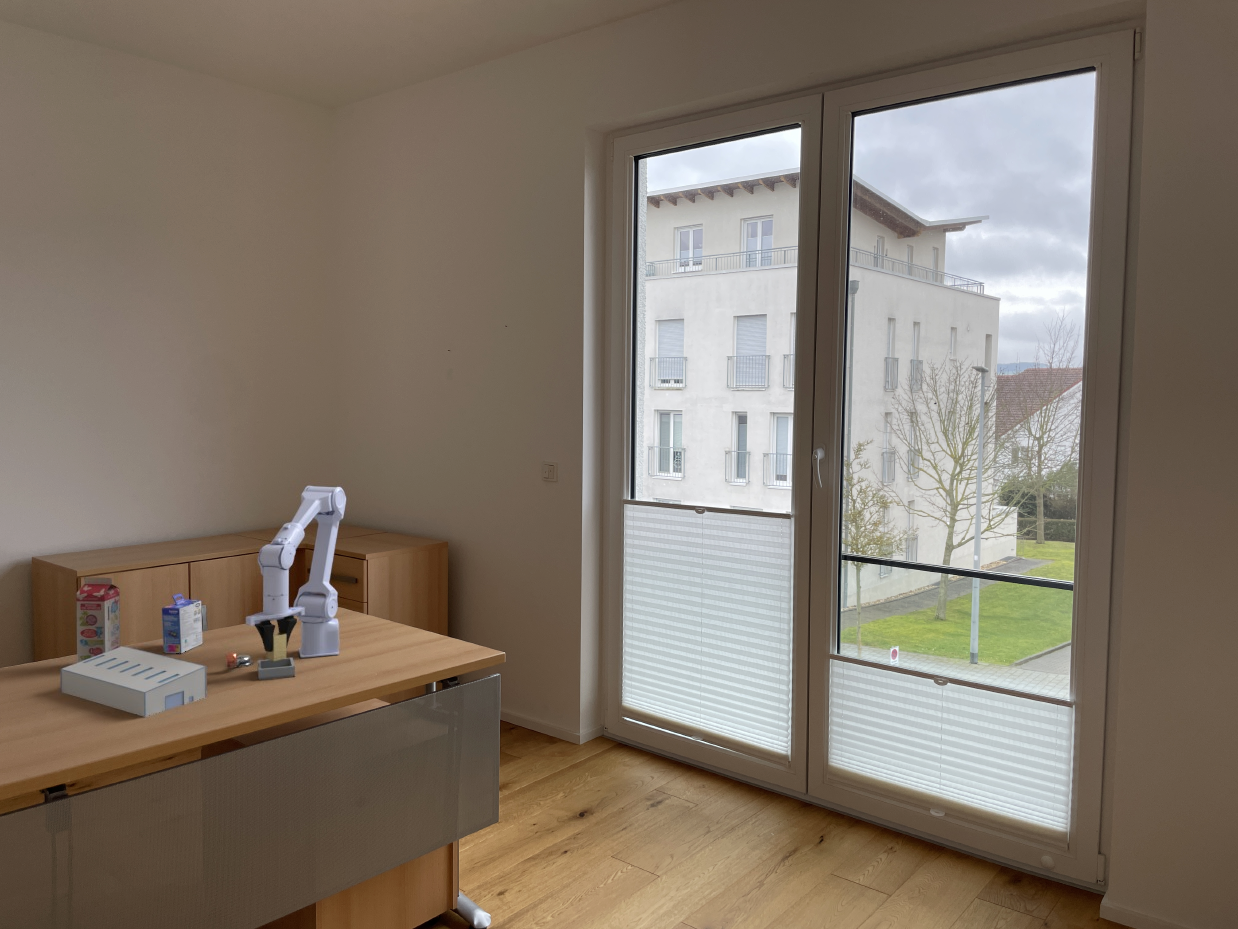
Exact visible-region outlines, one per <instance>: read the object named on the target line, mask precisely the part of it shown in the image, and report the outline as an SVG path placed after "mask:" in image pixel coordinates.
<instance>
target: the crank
mask: <svg viewBox="0 0 1238 929" xmlns="http://www.w3.org/2000/svg"><path fill="white" fill-rule="evenodd" d="M250 660H251V655H249V654H239V655H238V653H237V652H235V651H233V652H226V654H225V666H226V668H229V669H230V668H236V667H235V666H237V665H238V664H239V663H246V662H249V661H250Z"/></svg>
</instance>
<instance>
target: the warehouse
mask: <svg viewBox="0 0 1238 929" xmlns="http://www.w3.org/2000/svg"><path fill="white" fill-rule="evenodd" d="M59 672H60V693H64V694H66V695H70V696H74V697H77V698H80V699H83V700H86V701H90V702H92V703H93V702H94V703H98V704H100V705H103V706H107V707H110V708H114V709H116V710H117V709H118V710H120V711H124V712H127V713H130V714H133V715H136V714H137V716H140V717H143V718H147V717H150V716H154V715H156V714H155V713H157V714H159V712H160V713H163V712H165V710H166V711H168V710H172V709H174V708H173V707H175V708H178V707H180V706H179V705H181V706H184V704H185V705H188V704H191V703H193V702H192V701H194V702H197V700H198V701H200V700H199V699H201V700H203V699H202V698H204V699H206V698H205V697H207V694H208V693H207V666H206V665H203V664H200V663H195V662H190V661H187V660H183V659H178V658H175V657H171V656H166V655H162V654H159V653H153V652H150V651H145V650H141V649H137V648H134V647H130V646H125V645H122V646H121V645H120V647H118V648H116V649H113V650H110V651H108V652H105V653H102V654H100V655H97V656H94V657H92V658H89V659H86V660H84V661H81V662H78V663H77V662H75V663H73V664H70V665H68V666H65V667H63V668H60V671H59ZM207 698H208V697H207ZM190 702H191V703H190ZM187 703H188V704H187ZM177 706H178V707H177ZM167 709H168V710H167ZM162 711H163V712H162ZM153 714H154V715H153ZM149 715H150V716H149Z"/></svg>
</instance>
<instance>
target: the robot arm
mask: <svg viewBox="0 0 1238 929" xmlns="http://www.w3.org/2000/svg"><path fill="white" fill-rule="evenodd" d="M300 503H301V504H300V506H299V508H298V509H297V511H296V513H295V515H294V517H293V518H292V520H291V521H290V522H285V523H284V524H283V525H282V527H281V528H280V529H279V531H278V532H277V533H276V535H275V536H274V538H273V539H272V541H271V542H270V544H265V545H264V546H262V547H261V548H260V550H259V552H258V557H257V563H258V565H259V568H260V574H261V576H263V578H262V583H263V584H262V586H263V588H262V589H263V590H262V597H263V598H262V599H263V602H262V606H263V608H262V612H261V611H260V612H257V613H254V614H251V615H248V616H246V617H245V625H246V626H249V627H252V626H254V627H255V628H256V630H257V632H258V633H259V636H260V638H261V642H262V644H263V649H264V651H265V652H266V651H268V652H272V649H273V634H274V632H275V628H276V624H272V622H273V621H276V623H277V626H278V627H277V630H278V632H282V633H285V634H286V649H288V644H289V641H290V639H291V638H290V637H291V634H292V632H293V630H294V628H295V626H296V624H297V623H298V621H300V622H301V624H300V626H301V627H300V632H301V633H300V635H301V638H300V639H301V640H300V642H301V643H300V645H301V646H300V647H299V648H298V653H299V656H300V658H302V659H304V658H315V657H326V656H334V655H335V656H338V655H339V654H340V629H339V628H340V625H339V624H340V623H339V619H338V618H335V616H336V614H337V612H338V606H339V604H338V594H339V593H338V591H337V590H336V589H335V587H333V585H331V583H330V580H331V573H332V568H333V562H334V555H335V550H336V543H337V537H338V532H339V531H338V530H339V526H340V525H339V524H340V521H342V520H343V519H344V514H345V509H346V503H347V496H346V493H345V491H344V489H343V488H342V487H341V486H336V487H335V486H333V487H331V486H316V485H315V486H313V485H306V487H304V490H303V491H302V493H301V495H300ZM313 519H315V520H316V521H317V524H318V525H317V526H318V527H317V530H316V531H317V532H316V538H315V543H314V544H315V545H314V547H313V548H314V549H313V555H312V560H311V566H310V572H309V576H308V577H309V578H308V581H307V582H306V583H305V584H303V585H302V586H301V587H299V588H298V592H297V596H296V598H295V600H294V602H293V607H292V606H291V607H289V605H290V604H289V599H290V598H289V597H290V596H289V594H290V593H289V590H290V589H289V587H290V586H289V585H290V584H289V582H290V581H289V578H290V577H289V576H290V575H289V574H290V573H289V572H290V571H289V570H290V568H291V566H293V563H294V560H295V555H296V552H297V551H296V550H297V549H298V547H299V545H300V544H301V542H302V541H303V540H304V538H305V534H306V533H305V530H304V529H306V528H307V526H308V525H309V524H310V523H311V521H313ZM295 617H298V618H295ZM271 621H272V622H271Z"/></svg>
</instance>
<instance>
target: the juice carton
mask: <svg viewBox="0 0 1238 929" xmlns="http://www.w3.org/2000/svg"><path fill="white" fill-rule="evenodd" d="M120 602H121V601H120V588H119V587H118V586H117V585H115V584H113V578H112V577H91V576H90V577H88V576H86V577H85V576H84V577H83V585H82V586H81V587H80V589H79V590H78V591H77V592H76V644H77V645H76V648H77V650H76V651H77V652H76V654H77V658H76V659H77V661H76V663H78V662H81V661H84V660H86V659H89V658H92V657H94V656H97V655H100V654H102V653H105V652H108V651H110V650H113V649H116V648H118V647H121V621H120V620H121V619H120V618H121V611H120V609H121V608H120V604H121V603H120Z"/></svg>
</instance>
